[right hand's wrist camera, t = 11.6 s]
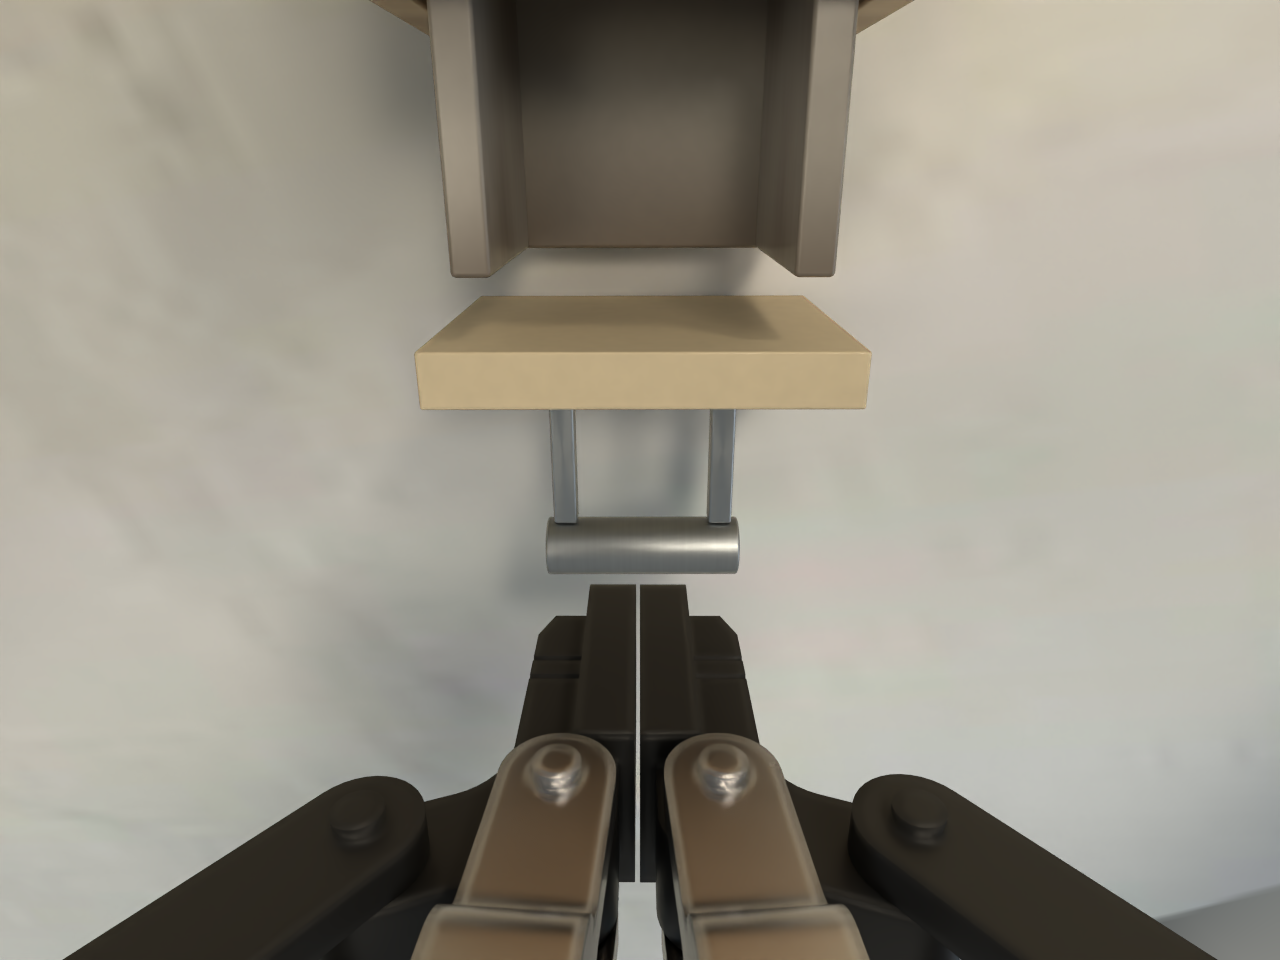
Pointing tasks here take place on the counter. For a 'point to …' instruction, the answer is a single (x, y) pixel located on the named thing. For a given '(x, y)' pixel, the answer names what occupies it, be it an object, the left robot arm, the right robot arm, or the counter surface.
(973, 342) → the counter surface
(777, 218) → the drawer
